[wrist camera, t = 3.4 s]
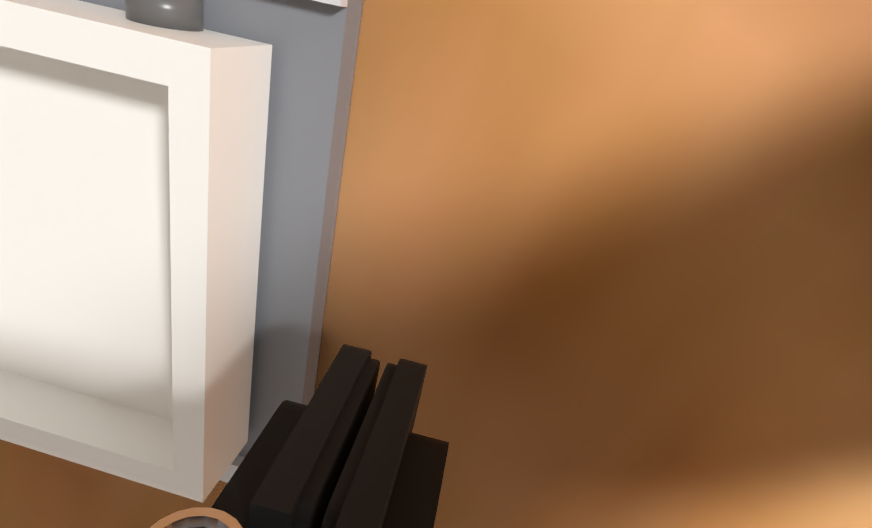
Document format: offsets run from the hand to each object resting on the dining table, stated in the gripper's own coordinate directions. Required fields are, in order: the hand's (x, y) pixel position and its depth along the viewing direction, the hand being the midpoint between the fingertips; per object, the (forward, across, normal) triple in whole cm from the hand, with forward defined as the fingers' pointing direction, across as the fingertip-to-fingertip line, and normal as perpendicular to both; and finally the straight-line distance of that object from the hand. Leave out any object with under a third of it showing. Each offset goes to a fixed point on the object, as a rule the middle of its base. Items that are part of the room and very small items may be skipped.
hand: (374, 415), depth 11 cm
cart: (+3, +10, -1) cm, 11 cm away
